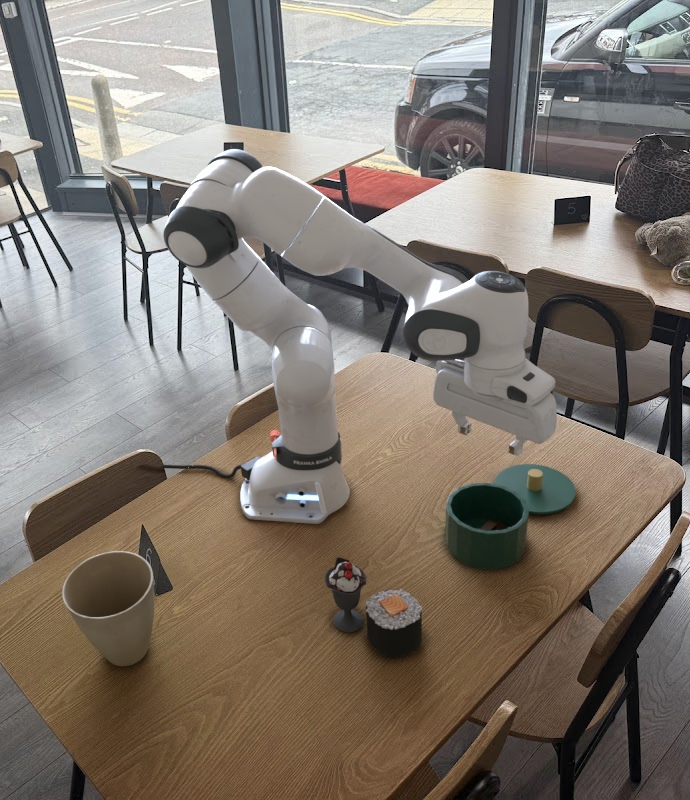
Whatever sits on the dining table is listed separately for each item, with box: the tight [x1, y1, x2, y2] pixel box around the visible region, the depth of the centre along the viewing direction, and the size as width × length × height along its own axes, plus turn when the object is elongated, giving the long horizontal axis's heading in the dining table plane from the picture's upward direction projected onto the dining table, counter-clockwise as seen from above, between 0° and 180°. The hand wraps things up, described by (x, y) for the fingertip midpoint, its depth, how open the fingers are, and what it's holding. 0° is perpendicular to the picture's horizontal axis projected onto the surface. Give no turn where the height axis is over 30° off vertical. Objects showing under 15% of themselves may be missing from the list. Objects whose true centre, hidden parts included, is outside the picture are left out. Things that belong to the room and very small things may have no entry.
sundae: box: [324, 556, 367, 633], centre depth 129 cm, size 7×7×15 cm
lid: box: [493, 463, 577, 515], centre depth 151 cm, size 15×15×5 cm
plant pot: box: [61, 550, 155, 667], centre depth 131 cm, size 15×15×16 cm
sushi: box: [365, 588, 423, 660], centre depth 126 cm, size 8×8×8 cm
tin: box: [444, 482, 530, 570], centre depth 141 cm, size 14×14×8 cm
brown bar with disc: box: [480, 520, 506, 531], centre depth 142 cm, size 9×3×3 cm, turn 131°
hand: (489, 442), depth 131 cm, fingers open, 8 cm apart
